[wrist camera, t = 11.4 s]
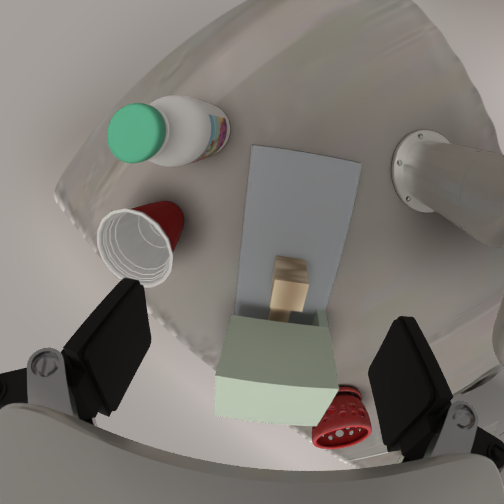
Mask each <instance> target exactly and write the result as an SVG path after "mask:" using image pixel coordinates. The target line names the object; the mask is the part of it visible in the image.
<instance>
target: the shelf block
mask: <svg viewBox="0 0 504 504" xmlns="http://www.w3.org/2000/svg"><path fill="white" fill-rule="evenodd" d="M338 390H339V384H338V378H337V371H336V365H335V359H334V353H333V347H332V342H331V336H330V331H329V325H328V320H327V315H326V310H321V309H317V311H316V314H315V317H314V321H313V324H312V326H311V325H302V324H294V323H285V322H278V321H270V320H263V319H256V318H249V317H243V316H236V315H231V318H230V322H229V326H228V329H227V333H226V337H225V341H224V344H223V348H222V352H221V356H220V359H219V363H218V367H217V371H216V375H215V409H214V410H215V411H214V415H216V416H222V417H228V418H234V419H241V420H247V421H255V422H263V423H273V424H284V425H299V426H317V425H318V423H319V421H320V420H321V418H322V417H323V415H324V414H325V412H326V410H327V409H328V407H329V405H330V404H331V402H332V400H333V399H334V397H335V395H336V393H337V392H338Z"/></svg>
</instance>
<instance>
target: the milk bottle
mask: <svg viewBox="0 0 504 504" xmlns="http://www.w3.org/2000/svg"><path fill="white" fill-rule="evenodd" d="M229 135H230V123H229V120H228V118H227V116H226V114H225V113H224V112H223V111H222V110H221V109H220V108H218V107H216V106H214V105H212V104H209V103H207V102H204V101H201V100H198V99H195V98H192V97H187V96H182V95H171V96H165V97H162V98H159V99H157V100H155V101H153V102H152V103H150V104H142V103H134V104H129V105H127V106H124V107H123V108H121V109H120V110H118V111H117V112H116V113H115V115H114V116H113V118H112V119H111V121H110V123H109V126H108V131H107V140H108V145H109V148H110V150H111V152H112V153H113V155H114V156H115V157H116V158H118V159H119V160H121V161H123V162H126V163H138V162H142V161H145V160H149V161H151V162H152V163H155V164H157V165H160V166H165V167H177V166H182V165H186V164H190V163H193V162H195V161H198V160H201V159H204V158H207V157H209V156H212V155H214V154H216V153H217V152H219V151H220V150H221V149H222V148H223V147H224V146H225V144H226V143H227V141H228V139H229Z"/></svg>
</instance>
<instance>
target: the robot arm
mask: <svg viewBox="0 0 504 504" xmlns="http://www.w3.org/2000/svg"><path fill="white" fill-rule="evenodd" d="M418 135H419V137H418ZM397 160H398V163H397ZM391 173H392V180H393V184H394V187H395V190H396V192H397V194H398V195H399V197H400V198H401V200H402V201H403V202H404V203H405V204H406V205H408V206H409V207H410V208H412V209H414V210H416V211H419V212H423V213H431V212H437V213H439V214H440V215H442V216H443V217H445V218H446V219H448V220H449V221H451V222H452V223H454V224H455V225H456V226H458V227H459V228H461V229H462V230H463V231H465V232H466V233H468V234H469V235H470V236H472V237H473V238H475V239H476V240H477V241H479V242H480V243H482V244H484V245H486V246H489V247H493V248H501V247H504V155H500V154H496V153H492V152H488V151H484V150H479V149H474V148H470V147H465V146H460V145H454V144H451V143H450V142H449V141H448V140H447V139H446V138H445V137H444V136H443V135H441V134H439V133H437V132H434V131H431V130H417V131H415V132H412V133H410V134H408V135H407V136H405V137H404V138H403V139H402V140H401V142H400V143H399V145H398V146H397V148H396V150H395V153H394V155H393V160H392V167H391ZM406 197H407V198H406ZM492 343H493V348H494V352H495V355H496V357H497V358H498V360H499V362H500V363H501V364H502V365H503V367H504V296H503V299H502V302H501V305H500V308H499V311H498V314H497V317H496V321H495V324H494V328H493V335H492ZM150 344H151V333H150V327H149V322H148V314H147V307H146V299H145V291H144V286H143V285H141V284H140V282H139V280H136V279H131V278H126V277H125V278H123V279H122V280H121V281H120V282H119V283H118V284H117V285H116V286H115V287H114V289H113V290H112V291H111V292H110V293H109V294H108V295H107V296H106V297H105V299H104V300H103V301H102V302H101V303H100V304H99V305H98V306H97V308H96V309H95V310H94V311H93V312H92V313H91V314H90V316H89V317H88V318H87V319H86V320H85V321H84V323H83V324H82V325H81V326H80V328H79V329H78V330H77V331H76V332H75V334H74V335H73V336H72V337H71V338H70V340H69V341H68V342H67V343H66V345H65V346H64V347H63V348H64V349H63V350H62V351H61V353H60V352H59V351H58V350H56V349H53V348H43V349H40V350H38V351H36V352H35V353H33V355H32V356H31V357H30V358H29V361H28V363H27V368H23V369H19V370H15V371H10V372H6V373H2V374H0V504H504V443H503V442H502V441H501V440H499V439H498V438H496V437H494V436H493V435H491V434H490V433H488V432H486V431H485V430H483V429H481V428H479V427H478V416H477V412H476V411H475V409H474V408H473V406H472V405H470V404H469V403H467V402H464V401H456V402H454V403H453V404H451V401H450V400H451V399H452V398H453V395H452V393H451V390H450V388H449V386H448V384H447V381H446V379H445V377H444V375H443V373H442V371H441V368H440V366H439V364H438V362H437V360H436V358H435V356H434V354H433V352H432V350H431V348H430V346H429V344H428V342H427V340H426V339H425V337H424V335H423V333H422V331H421V329H420V327H419V326H418V324H417V322H416V320H415V319H414V317H406V316H400V317H398V318H397V320H394V321H393V323H392V325H391V327H390V329H389V331H388V333H387V335H386V337H385V339H384V341H383V343H382V345H381V347H380V349H379V351H378V353H377V355H376V356H375V358H374V360H373V362H372V364H371V365H370V367H369V371H368V376H369V380H370V384H371V388H372V393H373V397H374V401H375V406H376V410H377V415H378V419H379V424H380V429H381V434H382V439H383V443H384V445H387V450H388V452H392V451H398V450H401V452H402V455H401V457H400V458H399V460H398V462H397V464H392V465H385V466H378V467H371V468H362V469H351V470H336V471H284V470H269V469H257V468H248V467H240V466H233V465H227V464H221V463H215V462H210V461H205V460H200V459H195V458H191V457H187V456H182V455H178V454H175V453H171V452H167V451H163V450H160V449H156V448H153V447H150V446H147V445H144V444H141V443H138V442H135V441H133V440H130V439H127V438H124V437H121V436H118V435H116V434H113V433H111V432H108V431H106V430H103V429H101V428H99V427H97V424H96V420H95V417H96V415H97V413H98V412H99V413H101V414H104V415H106V416H108V417H109V416H110V414H111V412H112V411H116V410H117V408H118V406H119V404H120V402H121V400H122V398H123V396H124V394H125V392H126V390H127V388H128V387H129V385H130V383H131V381H132V379H133V377H134V375H135V373H136V371H137V369H138V367H139V366H140V364H141V362H142V360H143V358H144V356H145V354H146V353H147V350H148V349H149V347H150Z"/></svg>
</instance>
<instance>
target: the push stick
mask: <svg viewBox="0 0 504 504" xmlns="http://www.w3.org/2000/svg"><path fill="white" fill-rule="evenodd" d="M308 287H309V280H308V273H307V267H306V261H305V259H298V258H291V257H284V256H277V255H276V259H275V265H274V271H273V277H272V285H271V298H270V308H271V309H270V315H269V320H270V321H278V322H285V323H288V320H289V316H290V312H291V310H292V311H300V312H302V310H303V306H304V302H305V299H306V295H307V291H308Z"/></svg>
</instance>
